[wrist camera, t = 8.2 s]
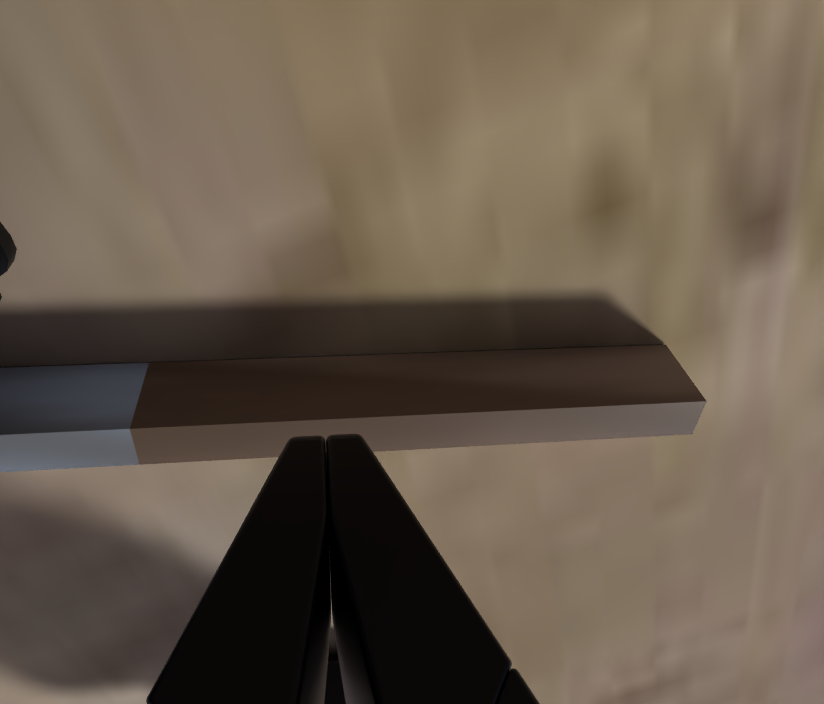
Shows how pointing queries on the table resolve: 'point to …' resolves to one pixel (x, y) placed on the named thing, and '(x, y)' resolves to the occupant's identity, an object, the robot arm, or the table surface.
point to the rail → (337, 404)
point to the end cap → (6, 250)
